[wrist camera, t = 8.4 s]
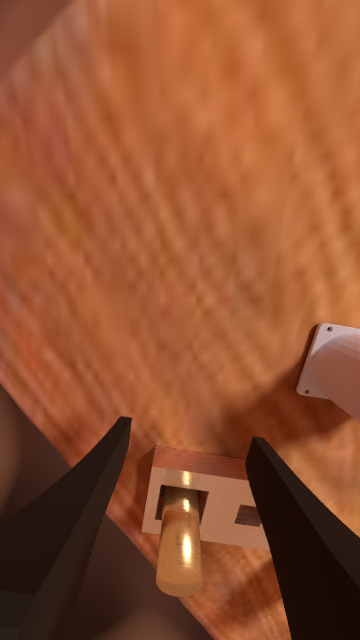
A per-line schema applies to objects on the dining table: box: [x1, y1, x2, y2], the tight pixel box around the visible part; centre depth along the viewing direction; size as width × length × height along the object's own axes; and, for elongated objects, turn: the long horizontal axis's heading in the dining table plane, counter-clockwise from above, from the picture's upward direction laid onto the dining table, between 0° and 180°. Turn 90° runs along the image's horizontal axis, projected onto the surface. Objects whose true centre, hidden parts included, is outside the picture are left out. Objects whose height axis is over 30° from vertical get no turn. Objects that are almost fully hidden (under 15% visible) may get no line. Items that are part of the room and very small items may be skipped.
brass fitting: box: [156, 485, 203, 597], centre depth 20 cm, size 4×4×8 cm
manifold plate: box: [142, 446, 270, 550], centre depth 22 cm, size 16×10×2 cm, turn 81°
